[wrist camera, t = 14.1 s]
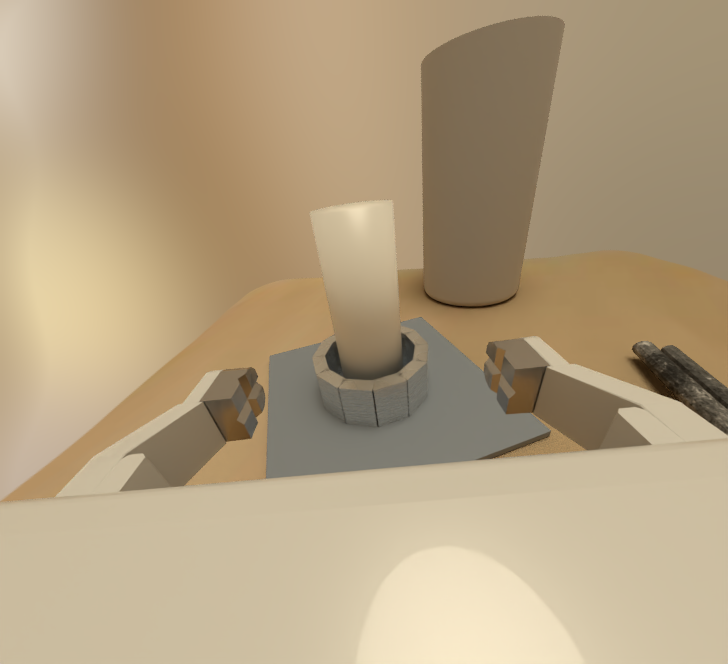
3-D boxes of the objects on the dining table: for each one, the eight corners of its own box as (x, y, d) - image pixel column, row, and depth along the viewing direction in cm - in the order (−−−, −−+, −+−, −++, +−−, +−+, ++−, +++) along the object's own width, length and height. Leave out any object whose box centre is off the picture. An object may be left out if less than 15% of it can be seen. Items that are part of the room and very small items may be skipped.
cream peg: (408, 402, 21) (398, 204, 14) (345, 409, 21) (303, 217, 14) (394, 343, 28) (383, 195, 21) (347, 348, 28) (320, 203, 21)
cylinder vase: (537, 302, 33) (602, 4, 21) (435, 314, 34) (439, 31, 21) (493, 271, 44) (518, 63, 31) (416, 280, 44) (411, 80, 32)
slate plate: (549, 436, 17) (551, 430, 17) (267, 545, 14) (264, 540, 14) (421, 320, 33) (421, 316, 32) (271, 359, 29) (269, 355, 29)
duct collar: (449, 403, 20) (451, 367, 18) (333, 442, 18) (322, 406, 17) (401, 344, 28) (399, 314, 26) (316, 368, 26) (307, 337, 24)
